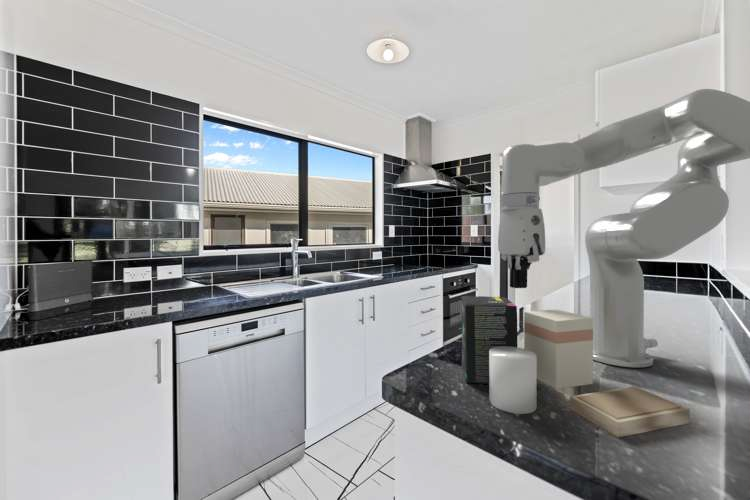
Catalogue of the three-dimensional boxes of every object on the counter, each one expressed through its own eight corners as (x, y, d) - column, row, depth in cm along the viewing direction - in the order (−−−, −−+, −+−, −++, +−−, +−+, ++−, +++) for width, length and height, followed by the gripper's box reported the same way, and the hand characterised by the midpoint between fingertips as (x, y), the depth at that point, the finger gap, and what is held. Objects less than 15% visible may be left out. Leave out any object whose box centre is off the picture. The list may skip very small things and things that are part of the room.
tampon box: (519, 388, 57) (519, 305, 56) (465, 384, 59) (464, 304, 58) (506, 365, 67) (506, 295, 67) (461, 362, 69) (461, 294, 69)
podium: (634, 398, 53) (634, 385, 52) (689, 423, 45) (689, 407, 45) (569, 409, 49) (569, 395, 49) (617, 437, 42) (617, 421, 42)
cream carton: (557, 367, 66) (557, 309, 66) (592, 383, 58) (593, 318, 58) (524, 371, 64) (524, 311, 64) (556, 389, 56) (556, 321, 56)
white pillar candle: (516, 390, 56) (516, 344, 56) (547, 410, 49) (547, 358, 49) (480, 395, 54) (480, 348, 54) (507, 416, 47) (507, 363, 47)
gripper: (561, 200, 64) (559, 292, 64) (512, 208, 78) (510, 283, 79) (529, 198, 62) (528, 293, 62) (484, 207, 76) (483, 283, 77)
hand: (518, 287), depth 70 cm, fingers closed
